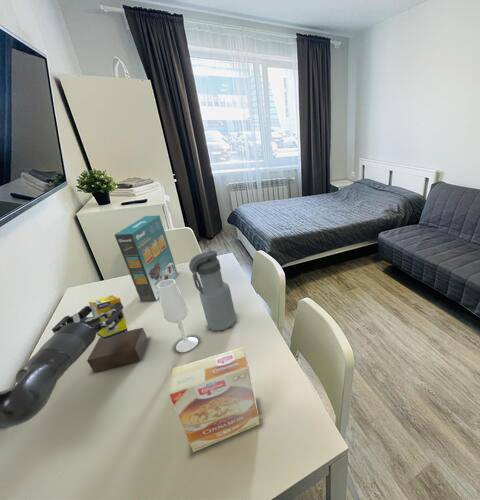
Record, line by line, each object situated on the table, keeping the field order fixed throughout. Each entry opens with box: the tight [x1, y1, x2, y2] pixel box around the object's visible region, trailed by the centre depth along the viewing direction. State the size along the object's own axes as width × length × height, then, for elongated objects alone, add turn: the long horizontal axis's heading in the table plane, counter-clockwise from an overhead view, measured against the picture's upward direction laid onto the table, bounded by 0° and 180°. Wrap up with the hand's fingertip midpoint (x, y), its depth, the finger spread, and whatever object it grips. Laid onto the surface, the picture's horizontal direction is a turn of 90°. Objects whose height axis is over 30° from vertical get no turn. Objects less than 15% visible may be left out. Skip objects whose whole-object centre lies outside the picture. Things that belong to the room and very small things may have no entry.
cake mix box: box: [114, 215, 178, 302], centre depth 116 cm, size 22×6×30 cm, turn 6°
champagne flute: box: [157, 278, 199, 353], centre depth 84 cm, size 7×7×24 cm
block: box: [86, 327, 149, 373], centre depth 85 cm, size 12×10×5 cm
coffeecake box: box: [168, 346, 261, 453], centre depth 61 cm, size 15×7×20 cm, turn 114°
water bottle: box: [188, 250, 237, 332], centre depth 93 cm, size 10×10×28 cm
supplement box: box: [88, 294, 128, 339], centre depth 81 cm, size 6×6×11 cm
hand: (104, 306), depth 80 cm, fingers closed on supplement box, 8 cm apart
